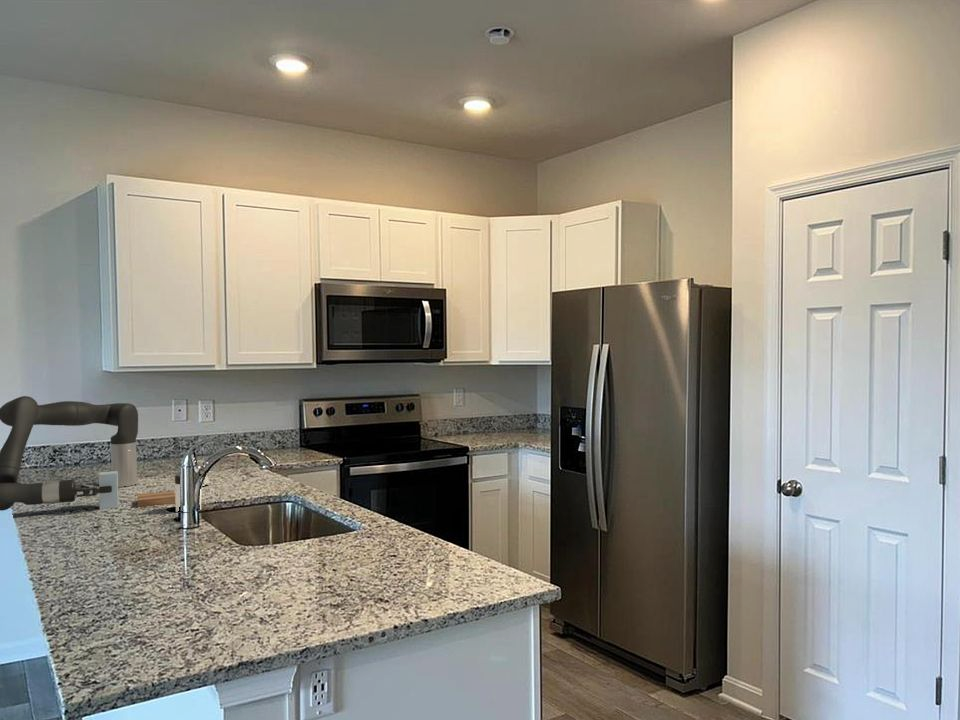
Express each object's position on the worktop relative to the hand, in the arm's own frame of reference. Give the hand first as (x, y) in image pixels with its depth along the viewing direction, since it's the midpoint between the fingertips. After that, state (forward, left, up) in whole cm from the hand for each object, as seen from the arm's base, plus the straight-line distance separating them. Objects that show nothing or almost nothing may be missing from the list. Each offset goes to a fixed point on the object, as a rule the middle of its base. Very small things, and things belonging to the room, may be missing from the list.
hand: (112, 486), depth 249 cm
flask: (-26, +30, -7) cm, 40 cm away
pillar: (0, -1, -7) cm, 7 cm away
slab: (0, +14, -8) cm, 16 cm away
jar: (+19, +24, -7) cm, 31 cm away
